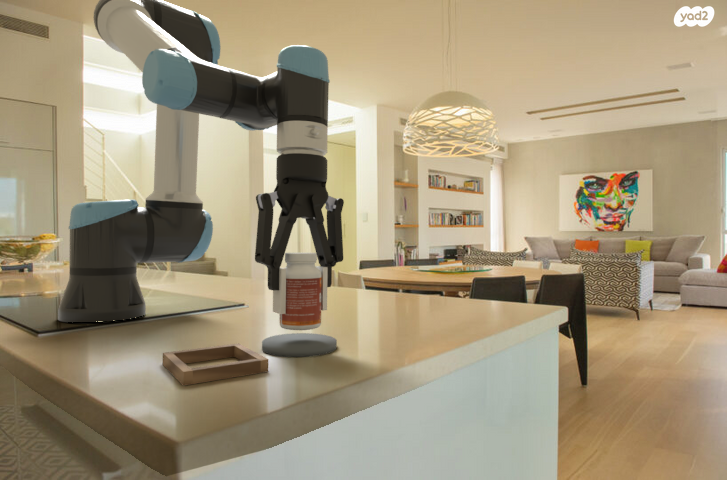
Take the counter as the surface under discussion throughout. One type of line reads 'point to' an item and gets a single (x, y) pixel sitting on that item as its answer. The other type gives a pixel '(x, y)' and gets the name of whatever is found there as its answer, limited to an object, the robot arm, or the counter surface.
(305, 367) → the counter surface
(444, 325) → the counter surface
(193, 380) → the socket
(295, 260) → the pill bottle
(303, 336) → the disc
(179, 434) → the counter surface
